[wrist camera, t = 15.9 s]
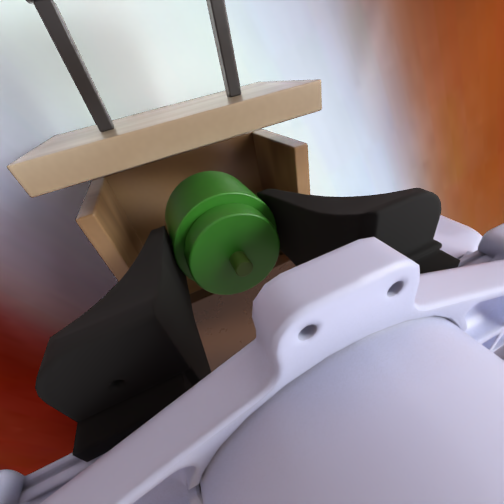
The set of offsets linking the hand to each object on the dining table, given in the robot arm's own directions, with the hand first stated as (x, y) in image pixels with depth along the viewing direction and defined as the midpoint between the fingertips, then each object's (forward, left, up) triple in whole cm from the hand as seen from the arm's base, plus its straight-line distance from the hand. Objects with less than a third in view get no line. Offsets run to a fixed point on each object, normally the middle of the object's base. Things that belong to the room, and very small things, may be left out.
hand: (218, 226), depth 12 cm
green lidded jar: (0, 0, -1) cm, 1 cm away
